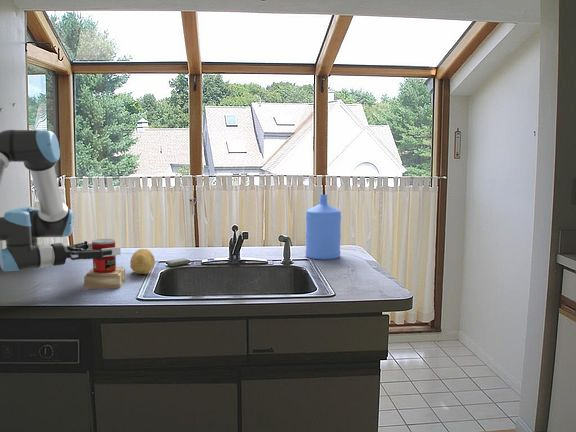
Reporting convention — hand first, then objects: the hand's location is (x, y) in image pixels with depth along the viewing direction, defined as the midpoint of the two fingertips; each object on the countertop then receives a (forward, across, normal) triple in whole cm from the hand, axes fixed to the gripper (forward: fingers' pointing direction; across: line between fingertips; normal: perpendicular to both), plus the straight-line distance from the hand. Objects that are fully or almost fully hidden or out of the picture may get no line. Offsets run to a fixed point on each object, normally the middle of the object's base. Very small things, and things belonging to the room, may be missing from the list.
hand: (113, 247), depth 198 cm
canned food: (-3, 0, -8) cm, 9 cm away
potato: (+14, -8, -13) cm, 20 cm away
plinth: (-3, 0, -13) cm, 13 cm away
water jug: (+92, +11, -13) cm, 94 cm away
